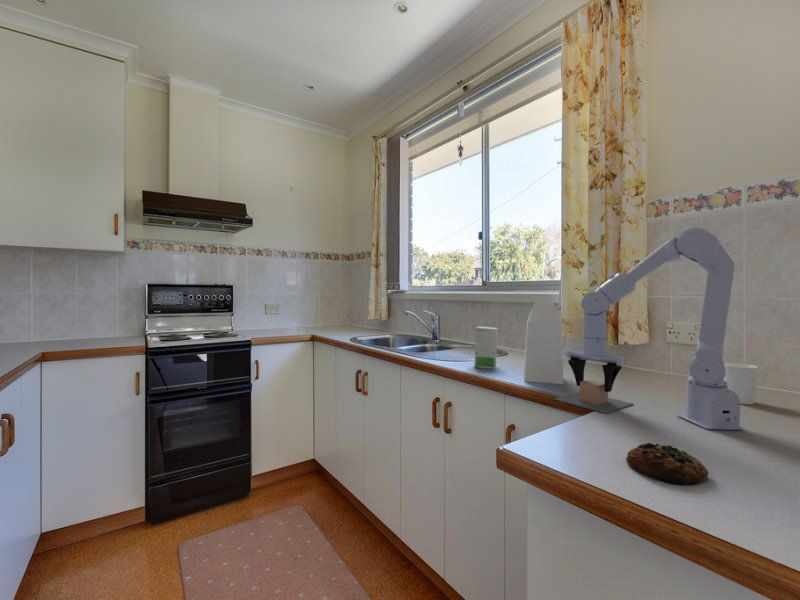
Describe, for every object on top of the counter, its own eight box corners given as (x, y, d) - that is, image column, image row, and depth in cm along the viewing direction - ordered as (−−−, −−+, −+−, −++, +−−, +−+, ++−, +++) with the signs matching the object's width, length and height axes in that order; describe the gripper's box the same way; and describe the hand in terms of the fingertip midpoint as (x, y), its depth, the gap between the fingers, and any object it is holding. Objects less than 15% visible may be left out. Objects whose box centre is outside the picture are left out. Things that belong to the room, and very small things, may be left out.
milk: (524, 381, 126) (525, 302, 125) (523, 374, 137) (525, 302, 136) (563, 384, 122) (565, 303, 122) (559, 376, 133) (561, 302, 133)
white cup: (746, 398, 108) (747, 363, 107) (764, 406, 100) (765, 368, 100) (713, 396, 110) (714, 361, 110) (728, 403, 102) (729, 366, 102)
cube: (607, 401, 101) (608, 383, 101) (598, 404, 98) (598, 385, 98) (589, 397, 105) (589, 379, 105) (579, 400, 103) (579, 381, 102)
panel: (633, 404, 100) (633, 403, 100) (605, 413, 92) (605, 412, 92) (582, 392, 112) (582, 391, 111) (554, 399, 104) (554, 398, 104)
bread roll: (643, 483, 58) (644, 449, 59) (615, 461, 69) (615, 433, 70) (725, 493, 56) (725, 458, 57) (683, 469, 67) (682, 440, 68)
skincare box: (474, 367, 148) (474, 327, 147) (475, 364, 154) (476, 326, 154) (496, 369, 145) (497, 328, 145) (497, 366, 151) (497, 327, 151)
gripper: (630, 339, 98) (629, 392, 98) (577, 334, 110) (576, 381, 110) (616, 341, 94) (615, 396, 94) (562, 335, 106) (562, 384, 106)
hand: (593, 388), depth 102 cm, fingers open, 7 cm apart
